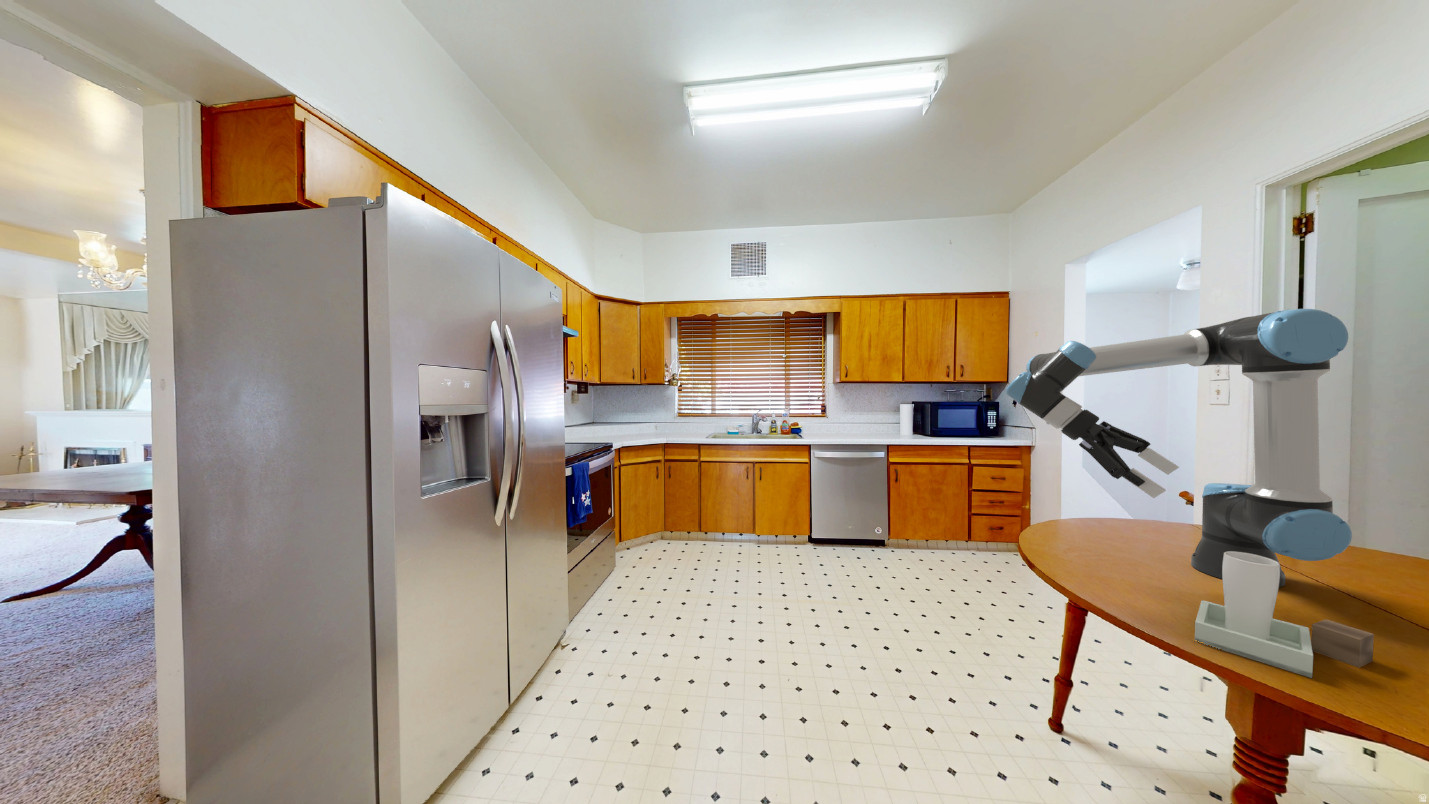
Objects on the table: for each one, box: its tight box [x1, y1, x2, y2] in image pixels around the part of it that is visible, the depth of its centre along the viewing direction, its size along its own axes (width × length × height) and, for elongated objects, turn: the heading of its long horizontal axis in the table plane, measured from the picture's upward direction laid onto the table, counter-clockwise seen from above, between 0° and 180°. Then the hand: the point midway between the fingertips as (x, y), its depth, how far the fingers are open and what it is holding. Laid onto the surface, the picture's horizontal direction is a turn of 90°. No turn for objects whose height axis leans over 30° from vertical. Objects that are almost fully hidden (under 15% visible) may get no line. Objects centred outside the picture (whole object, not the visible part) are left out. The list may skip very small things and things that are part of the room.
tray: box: [1194, 599, 1314, 679], centre depth 80 cm, size 13×13×4 cm
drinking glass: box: [1222, 551, 1281, 640], centre depth 81 cm, size 7×7×15 cm
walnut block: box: [1311, 618, 1375, 669], centre depth 76 cm, size 5×5×5 cm
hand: (1167, 482), depth 94 cm, fingers open, 13 cm apart
